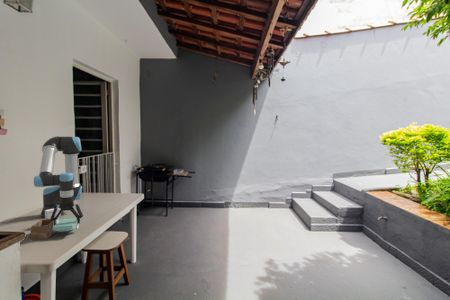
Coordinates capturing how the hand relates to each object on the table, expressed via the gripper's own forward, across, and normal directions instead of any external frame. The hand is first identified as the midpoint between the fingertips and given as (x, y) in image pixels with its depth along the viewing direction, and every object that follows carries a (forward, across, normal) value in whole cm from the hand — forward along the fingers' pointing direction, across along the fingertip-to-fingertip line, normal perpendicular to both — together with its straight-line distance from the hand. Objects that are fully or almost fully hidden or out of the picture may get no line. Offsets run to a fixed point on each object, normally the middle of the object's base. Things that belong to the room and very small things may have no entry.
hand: (67, 228), depth 157 cm
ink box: (+3, -15, +18) cm, 24 cm away
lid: (-1, 0, 0) cm, 1 cm away
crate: (+3, -13, 0) cm, 13 cm away
